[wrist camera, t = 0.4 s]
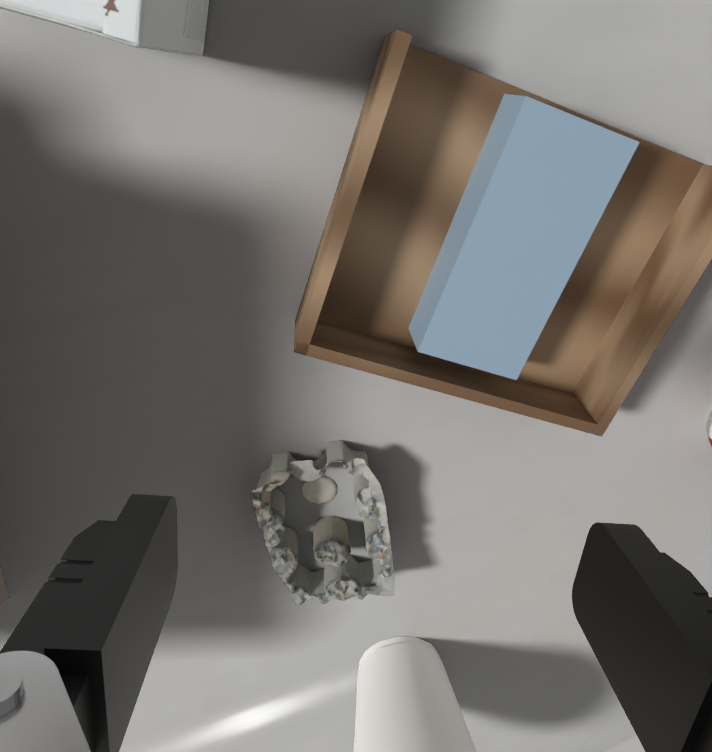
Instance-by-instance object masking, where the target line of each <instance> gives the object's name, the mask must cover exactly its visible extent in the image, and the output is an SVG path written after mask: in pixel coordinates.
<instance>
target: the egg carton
mask: <svg viewBox="0 0 712 752" xmlns="http://www.w3.org/2000/svg"><path fill="white" fill-rule="evenodd" d="M331 462H342V463H343V467H344V468H346V469H347V471H348V472H349V473H350V474H352V475H354V479H353V482H354V493H355V502H356V505H357V507H358V510H359V515H360V516H361V517H364V530H365V540H366V547H365V549H366V552H367V554H368V555H369V556H370V557H371V558H372V560H369V561H364V562H357V561H356V560H355V558H354V557H352V556H350V552H351V549H350V543H349V533H348V526H347V523H346V522H345V521H344V520H342V519H341V518H338V517H336V516H327V517H323V518H321V519H319V520H318V521H317V522H316V524H315V525H314V529H313V542H314V544H313V552H314V557H315V559H316V560H317V561H318V562H320V563H323V564H325V566H324V569H323V570H320V571H315V572H310V571H309V570H308V569H307V568H306V567H305V566H304V565H302V564H298V551H299V546H298V536H297V534H296V532H295V531H294V530H292V529H291V528H288V527H285V511H286V499H285V496H284V494H283V493H282V492H281V491H280V490H279V489H277V488H275V487H276V486H280V485H282V484H283V483H284V482H285V481H286V480H287V479H288V478H289V474H290V475H291V476H293V477H294V478H295V479H297V480H302V481H305V482H304V484H303V485H302V494H303V497H304V498H305V499H306V500H307V501H309V502H311V503H314V504H324V503H327V502H329V501H331V500H332V499H333V498H334V496H335V495H336V490H337V487H336V484H335V482H334V481H333V480H332V479H330V478H328V477H326V476H323V475H324V473H325V472H326V468H327V466H328V464H329V463H331ZM252 494H253V496H254V497H255V498H252V502H253V505H254V511H255V514H256V517H257V521H258V525H259V527H260V530H261V532H262V533H263V536H264V540H265V544H266V547H267V548H268V552H269V555H270V559H271V563H272V566H273V568H274V569H275V571H276V572H277V574H278V576H279V577H280V578H281V579H282V581H283V583H284V584H285V585H286V586H288V589H289V592H290V596H291V598H292V600H293V601H294V602H295V603H296V604H297V605H301V604H303V603H304V601H305V600H306V599H313V598H315V599H319V600H320V602H321V603H322V604H325V603H327V602H328V601H330V600H331V599H338V600H343V601H344V600H346V599H349V598H353V599H361V600H362V599H363V598H364V597H365V596H366V595H367V594H373V595H381V596H394V593H395V577H394V565H393V557H392V548H391V541H390V533H389V527H388V519H387V512H386V504H385V499H384V495H383V491H382V488H381V485H380V483H379V482H378V480H377V478H376V477H375V475H374V474H373V473H372V471H371V470H370V469H369V463H368V458H367V454H366V452H365V451H354V450H351V449H350V448H348V447H347V446H346V445H345V444H344V442H343V441H334V442H328V443H326V450H325V452H324V454H323V455H322V456H321V457H320V458H319V459H317V460H315V461H312V460H304V461H298V460H296V459H295V458H293V457H292V456H291V454H290V453H289V452H288V451H284V452H279V453H274V454H273V455H272V462H271V465H270V466H269V467H268V469H266V470H265V471H263V472H261V475H260V479H259V481H258V485H257V489H254V490H253V491H252Z"/></svg>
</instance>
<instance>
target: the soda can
mask: <svg viewBox="0 0 712 752" xmlns="http://www.w3.org/2000/svg"><path fill="white" fill-rule="evenodd" d="M707 435H708V440H709V443H710V445H711V447H712V412H711V414H710V416H709V418H708V422H707Z"/></svg>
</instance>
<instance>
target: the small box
mask: <svg viewBox="0 0 712 752" xmlns="http://www.w3.org/2000/svg"><path fill="white" fill-rule="evenodd" d="M208 7H209V0H0V8H1V9H5V10H8V11H12V12H16V13H20V14H23V15H27V16H31V17H34V18H38V19H42V20H45V21H49V22H53V23H56V24H60V25H64V26H67V27H71V28H74V29H78V30H82V31H85V32H89V33H93V34H96V35H99V36H102V37H105V38H108V39H112V40H115V41H118V42H121V43H124V44H127V45H130V46H133V47H138V48H148V49H154V50H161V51H166V52H173V53H180V54H188V55H203V52H204V41H205V33H206V25H207V16H208Z"/></svg>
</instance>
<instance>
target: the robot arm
mask: <svg viewBox="0 0 712 752" xmlns="http://www.w3.org/2000/svg"><path fill="white" fill-rule="evenodd" d="M177 562H178V561H177V509H176V500H175V498H174V497H172V496H155V495H138V494H133V495H131V496H130V498H129V500H128V501H127V503H126V505H125V507H124V508H123V510H122V512H121V514H120V515H119V517H118V519H117V521H103V520H98V521H97V522H95V523H94V524H93V525H91V526H90V527H89V528H87V529H86V530H84V531H83V532H82V533H80V534H79V535H78V536H76V537H75V538H74V539H73V541H72V543H71V544H70V546H69V547H68V549H67V550H66V552H65V553H64V555H63V556H62V558H61V561H60V564H57V566H56V567H55V569H54V570H53V572H52V573H51V575H50V576H49V580H48V582H45V584H44V586H43V587H42V589H41V590H40V592H39V593H38V595H37V596H36V598H35V599H34V601H33V602H32V604H31V605H30V607H29V609H28V610H27V612H26V613H25V615H24V616H23V618H22V619H21V621H20V622H19V624H18V625H17V627H16V628H15V630H14V632H13V633H12V635H11V636H10V638H9V639H8V641H7V642H6V644H5V645H4V647H3V648H2V650H1V651H0V752H119V750H120V747H121V744H122V741H123V738H124V735H125V733H126V730H127V727H128V724H129V721H130V718H131V715H132V712H133V710H134V707H135V704H136V701H137V698H138V695H139V692H140V690H141V687H142V684H143V681H144V678H145V675H146V672H147V669H148V667H149V664H150V661H151V658H152V655H153V652H154V649H155V647H156V644H157V641H158V638H159V635H160V632H161V629H162V626H163V624H164V621H165V618H166V615H167V612H168V609H169V606H170V604H171V601H172V598H173V594H174V589H175V584H176V577H177ZM572 602H573V609H574V613H575V616H576V618H577V621H578V623H579V624H580V626H581V628H582V630H583V632H584V634H585V636H586V638H587V640H588V642H589V644H590V646H591V648H592V649H593V651H594V653H595V655H596V657H597V659H598V661H599V663H600V665H601V667H602V669H603V671H604V673H605V675H606V676H607V678H608V680H609V682H610V684H611V686H612V688H613V690H614V692H615V694H616V696H617V698H618V700H619V701H620V703H621V705H622V707H623V709H624V711H625V713H626V715H627V717H628V719H629V721H630V723H631V725H632V726H633V728H634V730H635V732H636V734H637V736H638V738H639V740H640V742H641V744H642V746H643V748H644V750H645V752H712V597H709V596H708V592H707V591H706V590H705V589H704V587H703V586H702V585H701V584H700V583H699V581H698V580H697V579H696V578H695V577H694V576H693V574H692V573H691V572H690V571H689V570H687V569H686V568H685V567H683V566H682V565H680V564H679V563H678V562H676V561H675V560H674V559H672V558H671V557H670V556H668V555H667V554H665V553H660V552H659V551H658V549H657V548H656V547H655V546H654V544H653V543H652V542H651V541H650V539H649V538H648V537H647V536H646V535H645V533H644V532H643V531H642V530H641V529H640V528H639V527H638V526H636V525H630V524H613V523H595V524H593V525H592V527H591V528H590V530H589V533H588V536H587V539H586V543H585V546H584V550H583V553H582V556H581V560H580V563H579V567H578V570H577V574H576V577H575V580H574V584H573V590H572Z"/></svg>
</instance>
